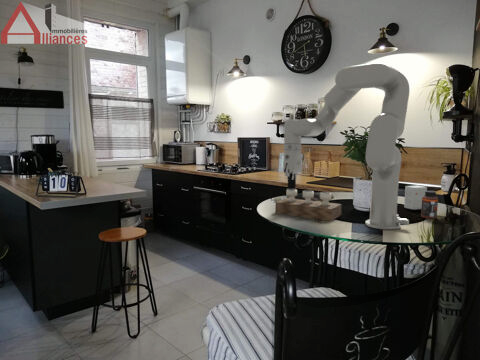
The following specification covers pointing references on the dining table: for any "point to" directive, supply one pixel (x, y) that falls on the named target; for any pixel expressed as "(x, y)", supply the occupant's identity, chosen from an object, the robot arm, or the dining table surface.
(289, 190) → the knob far
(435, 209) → the supplement bottle
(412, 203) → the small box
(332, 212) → the knob mount
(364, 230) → the dining table surface
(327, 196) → the knob near
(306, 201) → the knob middle
